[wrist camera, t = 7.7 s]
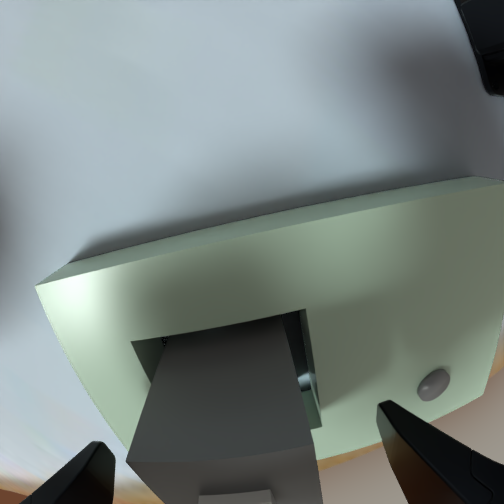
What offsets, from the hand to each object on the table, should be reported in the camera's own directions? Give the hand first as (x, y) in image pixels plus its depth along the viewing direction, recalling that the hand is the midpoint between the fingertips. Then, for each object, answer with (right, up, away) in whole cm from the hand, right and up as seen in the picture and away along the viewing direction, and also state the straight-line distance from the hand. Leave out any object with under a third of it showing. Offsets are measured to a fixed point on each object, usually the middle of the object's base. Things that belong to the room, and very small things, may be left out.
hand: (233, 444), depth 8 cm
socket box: (+3, +2, +4) cm, 6 cm away
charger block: (0, +1, +5) cm, 5 cm away
